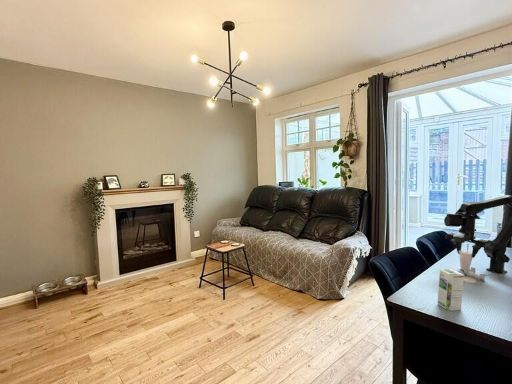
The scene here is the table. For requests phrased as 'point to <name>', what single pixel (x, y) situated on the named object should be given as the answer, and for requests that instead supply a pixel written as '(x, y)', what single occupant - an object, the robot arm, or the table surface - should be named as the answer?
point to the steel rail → (472, 274)
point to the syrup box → (450, 289)
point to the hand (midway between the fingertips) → (465, 255)
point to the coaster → (469, 280)
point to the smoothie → (465, 258)
